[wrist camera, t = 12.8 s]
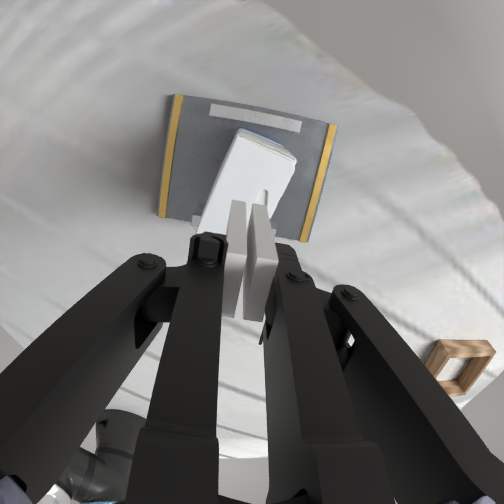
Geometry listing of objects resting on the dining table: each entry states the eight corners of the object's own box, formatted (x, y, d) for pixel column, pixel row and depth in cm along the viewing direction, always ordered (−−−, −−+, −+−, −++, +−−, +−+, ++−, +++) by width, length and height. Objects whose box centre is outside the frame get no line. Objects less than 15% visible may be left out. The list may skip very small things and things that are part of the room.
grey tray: (158, 213, 36) (150, 223, 32) (175, 94, 30) (167, 93, 27) (306, 238, 38) (312, 251, 34) (335, 126, 32) (345, 127, 29)
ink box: (239, 125, 31) (236, 130, 20) (281, 143, 32) (301, 159, 21) (208, 195, 34) (191, 236, 23) (248, 212, 35) (251, 259, 24)
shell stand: (408, 386, 52) (415, 401, 48) (439, 339, 46) (449, 353, 43) (457, 382, 53) (464, 394, 50) (487, 340, 48) (496, 351, 44)
